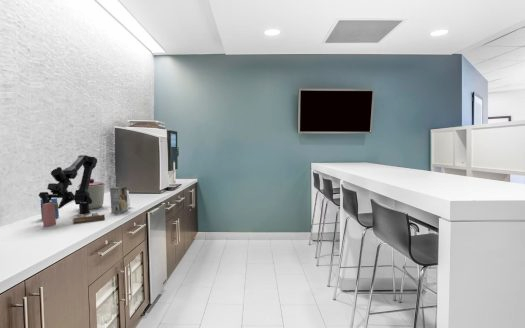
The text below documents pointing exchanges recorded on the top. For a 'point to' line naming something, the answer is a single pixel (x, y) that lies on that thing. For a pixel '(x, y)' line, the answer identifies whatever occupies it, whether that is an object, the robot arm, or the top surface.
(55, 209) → the label tape cartridge
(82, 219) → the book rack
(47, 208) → the dusty red block
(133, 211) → the top surface
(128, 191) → the cylinder with rectangular tab
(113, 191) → the coffee box
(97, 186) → the canister
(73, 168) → the robot arm
